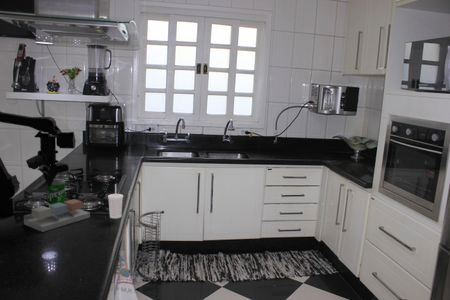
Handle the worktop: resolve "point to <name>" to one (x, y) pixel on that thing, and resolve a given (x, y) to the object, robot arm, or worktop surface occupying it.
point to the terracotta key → (73, 204)
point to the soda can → (56, 191)
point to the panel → (55, 220)
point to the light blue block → (58, 208)
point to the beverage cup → (115, 204)
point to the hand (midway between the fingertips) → (49, 185)
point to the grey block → (41, 212)
